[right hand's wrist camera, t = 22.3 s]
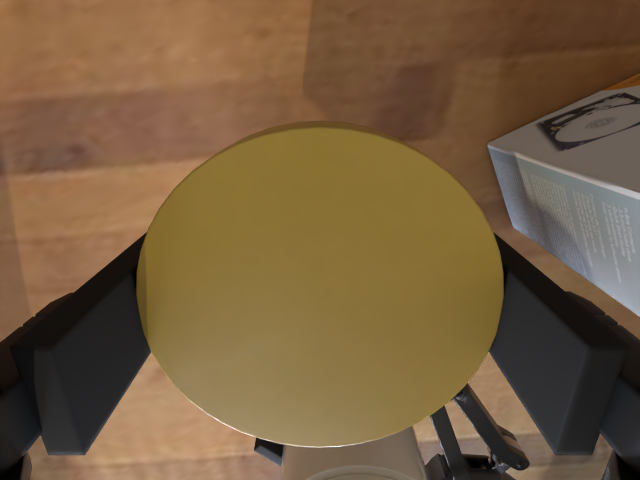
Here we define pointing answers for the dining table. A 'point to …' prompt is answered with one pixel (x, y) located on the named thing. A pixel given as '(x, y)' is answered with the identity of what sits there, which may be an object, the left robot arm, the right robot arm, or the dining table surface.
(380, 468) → the jar
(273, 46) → the dining table surface
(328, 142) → the lid
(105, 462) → the dining table surface
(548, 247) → the hard drive box
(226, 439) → the dining table surface
